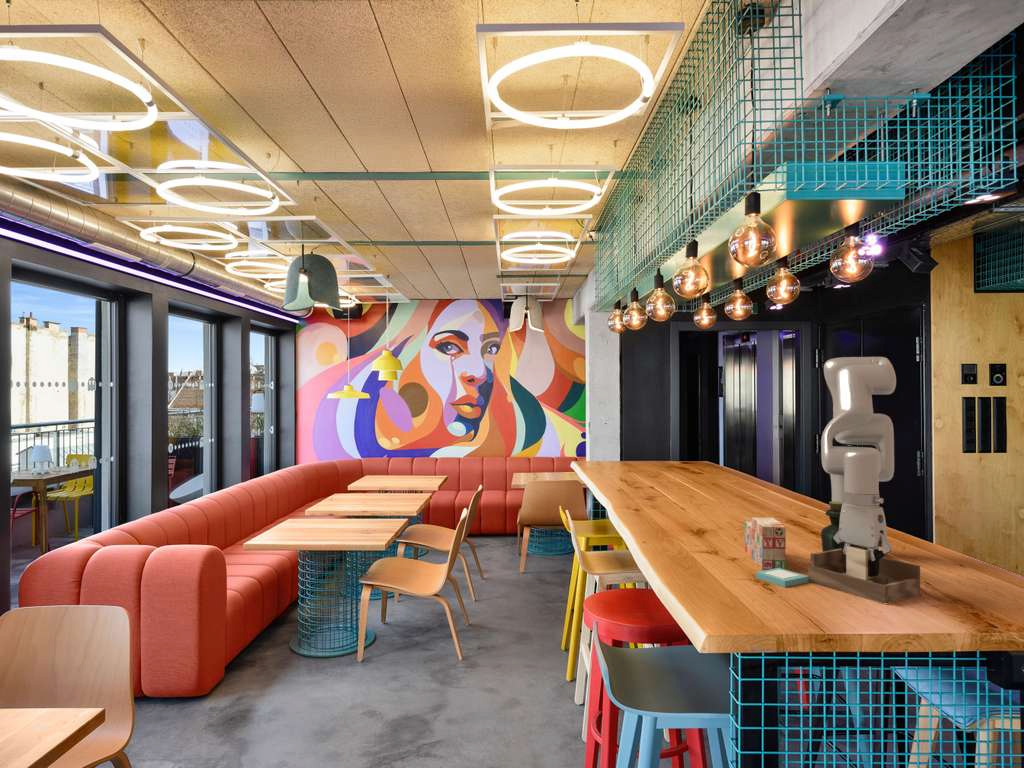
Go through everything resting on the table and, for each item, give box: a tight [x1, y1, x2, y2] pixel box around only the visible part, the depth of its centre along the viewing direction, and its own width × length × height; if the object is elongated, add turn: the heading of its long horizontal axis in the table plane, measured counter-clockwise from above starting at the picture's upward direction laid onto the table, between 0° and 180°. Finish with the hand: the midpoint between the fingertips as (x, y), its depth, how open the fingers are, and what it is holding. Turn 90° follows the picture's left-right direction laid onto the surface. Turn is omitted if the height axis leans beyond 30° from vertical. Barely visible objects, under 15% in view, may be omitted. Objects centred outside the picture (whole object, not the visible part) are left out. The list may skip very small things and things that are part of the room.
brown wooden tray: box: [807, 548, 921, 604], centre depth 156 cm, size 14×20×7 cm
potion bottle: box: [820, 501, 843, 552], centre depth 175 cm, size 8×8×18 cm
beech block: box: [846, 545, 878, 580], centre depth 157 cm, size 5×5×7 cm
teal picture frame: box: [755, 568, 810, 588], centre depth 163 cm, size 9×9×2 cm
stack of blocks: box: [744, 517, 787, 571], centre depth 183 cm, size 21×6×12 cm, turn 172°
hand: (862, 572), depth 156 cm, fingers closed on beech block, 5 cm apart
